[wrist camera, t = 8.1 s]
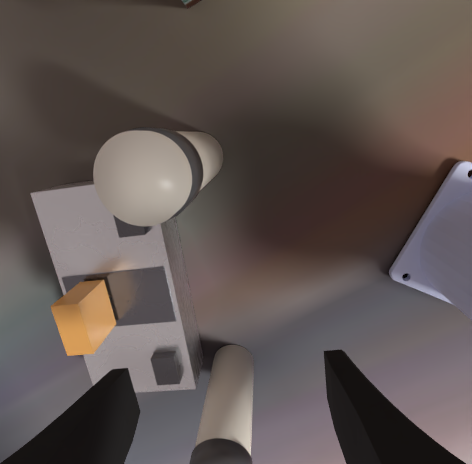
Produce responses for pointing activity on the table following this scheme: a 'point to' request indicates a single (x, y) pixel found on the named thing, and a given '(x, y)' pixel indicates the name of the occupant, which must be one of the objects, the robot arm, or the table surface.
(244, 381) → the cable post
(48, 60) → the table surface
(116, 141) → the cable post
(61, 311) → the block
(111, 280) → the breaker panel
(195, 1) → the food container
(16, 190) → the table surface
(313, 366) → the table surface
